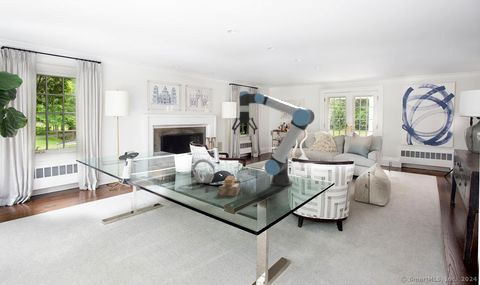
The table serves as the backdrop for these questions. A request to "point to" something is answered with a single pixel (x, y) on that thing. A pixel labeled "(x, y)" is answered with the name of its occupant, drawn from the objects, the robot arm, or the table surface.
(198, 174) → the headphones
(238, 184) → the stand
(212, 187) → the table surface
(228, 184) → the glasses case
